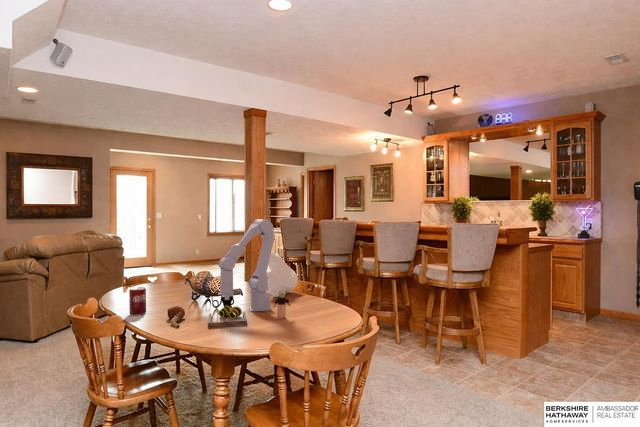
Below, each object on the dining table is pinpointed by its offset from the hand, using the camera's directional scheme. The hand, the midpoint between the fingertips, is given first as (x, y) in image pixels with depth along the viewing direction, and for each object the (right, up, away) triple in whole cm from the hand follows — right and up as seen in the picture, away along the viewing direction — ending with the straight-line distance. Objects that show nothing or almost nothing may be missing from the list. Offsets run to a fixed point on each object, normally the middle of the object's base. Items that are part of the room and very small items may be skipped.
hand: (227, 312), depth 197 cm
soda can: (-43, -1, +2) cm, 43 cm away
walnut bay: (+3, -1, -13) cm, 13 cm away
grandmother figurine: (+26, -1, -8) cm, 28 cm away
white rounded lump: (+19, -1, +45) cm, 49 cm away
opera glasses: (+3, -1, -6) cm, 6 cm away
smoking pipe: (-18, -2, -13) cm, 22 cm away
